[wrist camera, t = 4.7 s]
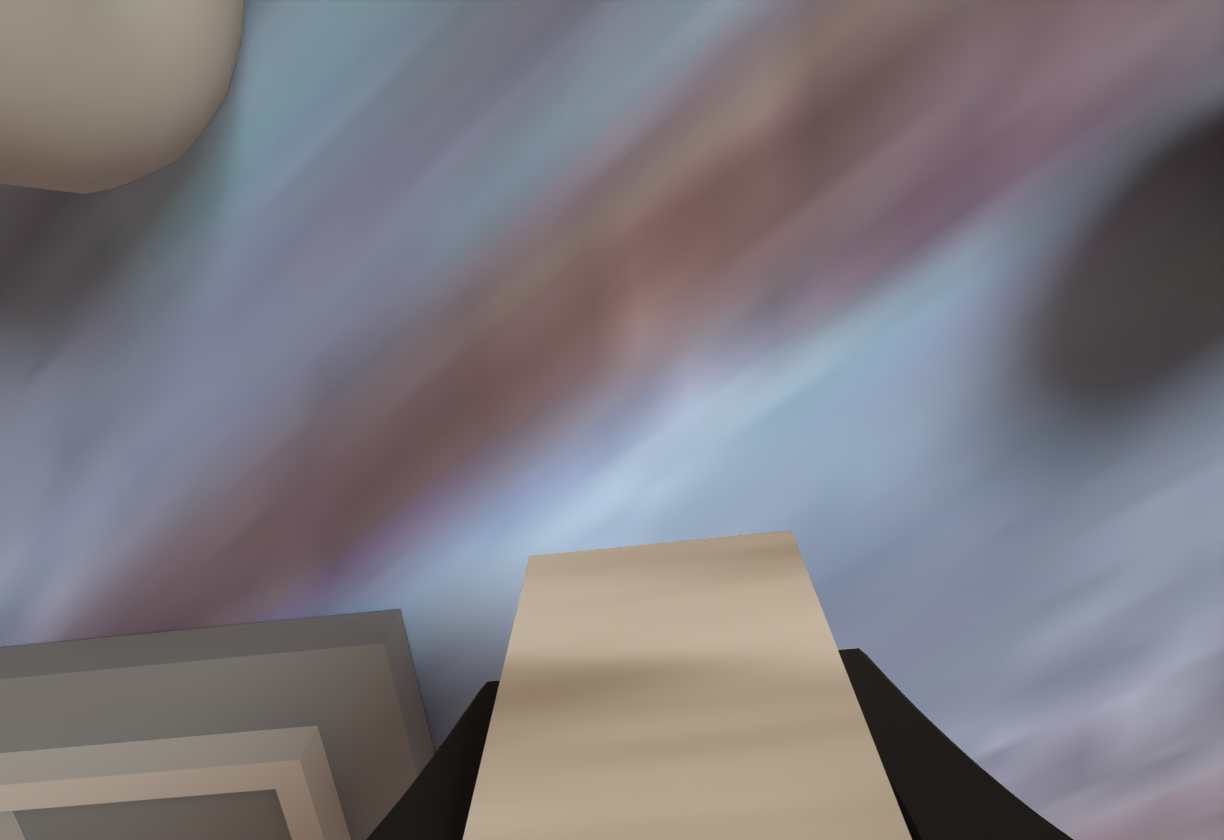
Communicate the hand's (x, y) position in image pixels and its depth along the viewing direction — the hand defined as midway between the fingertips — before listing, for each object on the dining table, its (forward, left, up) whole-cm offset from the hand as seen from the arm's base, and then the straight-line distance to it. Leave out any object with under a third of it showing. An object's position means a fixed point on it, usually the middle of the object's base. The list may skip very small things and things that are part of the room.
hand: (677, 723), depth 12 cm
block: (0, 0, -2) cm, 2 cm away
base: (-10, +14, -9) cm, 19 cm away
